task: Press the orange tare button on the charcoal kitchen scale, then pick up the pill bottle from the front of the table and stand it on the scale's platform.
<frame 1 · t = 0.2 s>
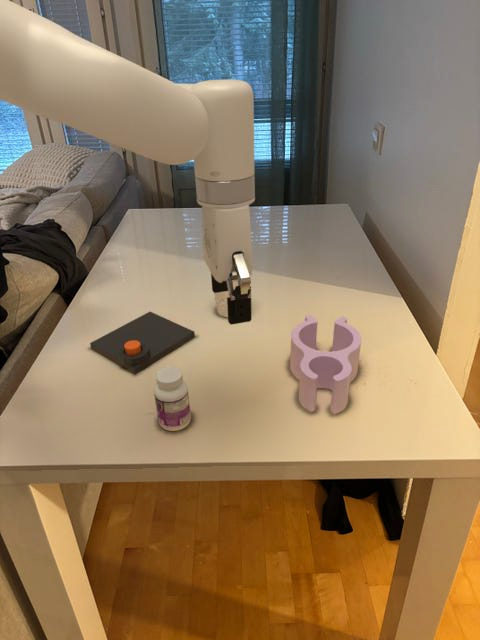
hand: (230, 305, 68), 20 cm above the table, tool pointing down, fingers open, 9 cm apart
tare button: (132, 347, 89), point 3 cm above the table, slide at 0.1 cm
clip: (323, 376, 85), on the table
white cup: (231, 311, 107), on the table
pill bottle: (175, 421, 76), on the table
scale: (143, 342, 96), on the table
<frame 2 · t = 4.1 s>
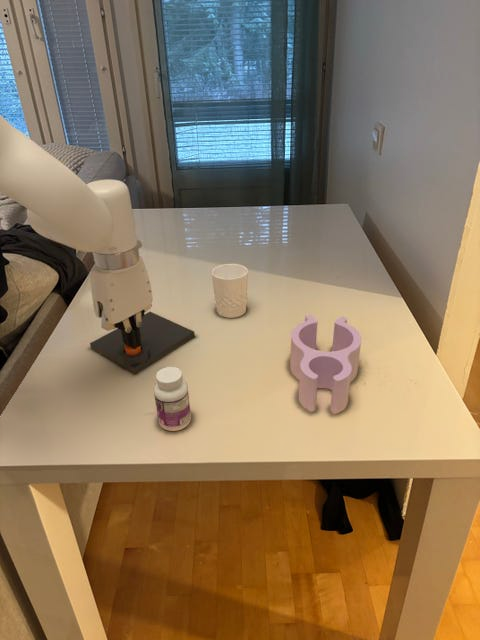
hand: (133, 344, 89), 4 cm above the table, tool pointing down, fingers closed
tare button: (132, 348, 89), point 3 cm above the table, slide at -0.1 cm, touching gripper
everything else where it was.
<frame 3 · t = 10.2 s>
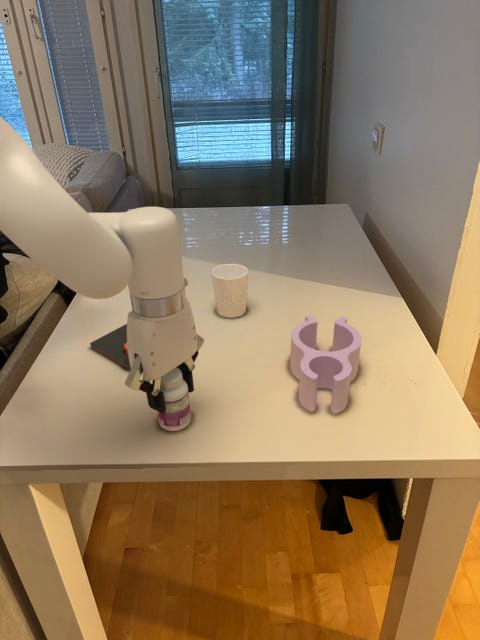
hand: (172, 397, 74), 5 cm above the table, tool pointing down, fingers closed on pill bottle, 5 cm apart
tare button: (132, 347, 89), point 3 cm above the table, slide at 0.1 cm
pill bottle: (175, 421, 76), on the table, touching gripper
everything else where it was.
when the fingers open (6 cm above the table, at t = 17.4 s): pill bottle stays where it is, resting on scale.
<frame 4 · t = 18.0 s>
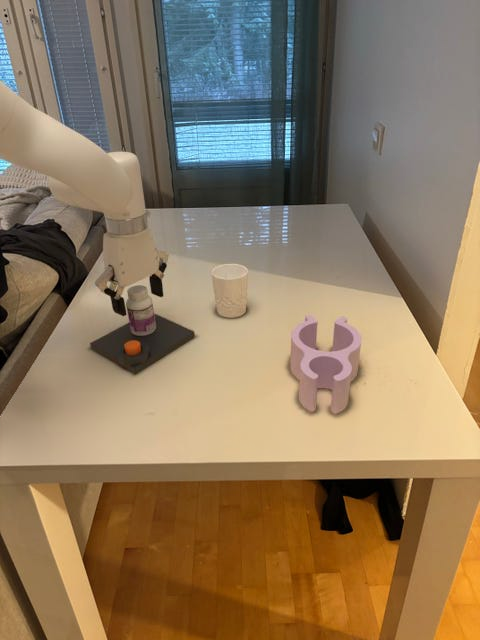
hand: (139, 304, 95), 8 cm above the table, tool pointing down, fingers open, 9 cm apart
pill bottle: (143, 330, 98), point 1 cm above the table, touching scale
everything else where it was.
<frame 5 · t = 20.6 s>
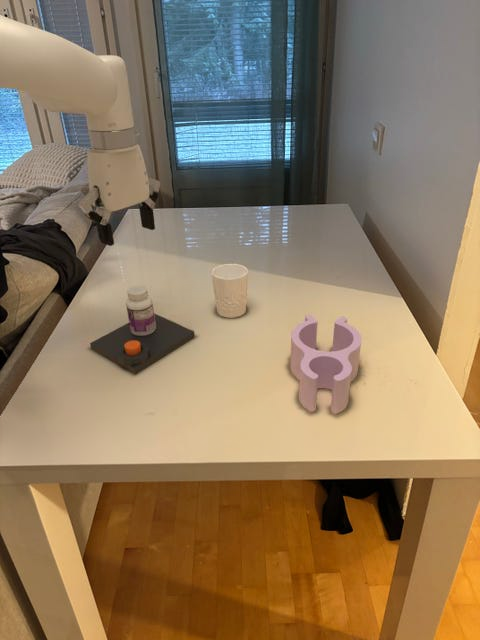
hand: (128, 235, 87), 22 cm above the table, tool pointing down, fingers open, 9 cm apart
nothing on the table moved.
at the end: tare button pushed in 0.9 cm at the most during the clip, back to where it started at the end; pill bottle inside the target area on the scale (2.8 cm from its centre), point 1.2 cm above the scale's base; pill bottle tilted 0° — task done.
